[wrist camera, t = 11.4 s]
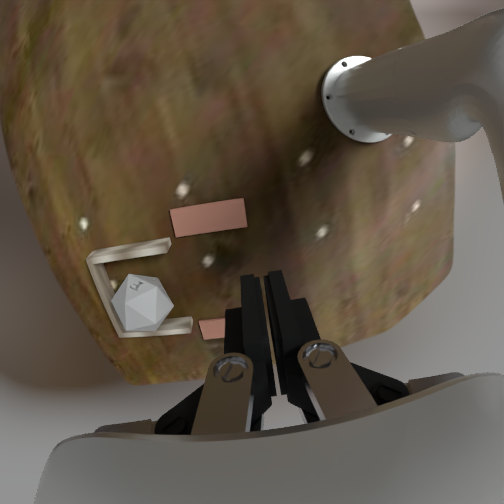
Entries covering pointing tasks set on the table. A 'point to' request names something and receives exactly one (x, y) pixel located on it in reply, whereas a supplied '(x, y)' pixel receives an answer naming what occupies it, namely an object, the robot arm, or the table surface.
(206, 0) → the table surface
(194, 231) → the mat
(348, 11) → the table surface
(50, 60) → the table surface
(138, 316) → the die
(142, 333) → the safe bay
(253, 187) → the table surface
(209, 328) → the mat
